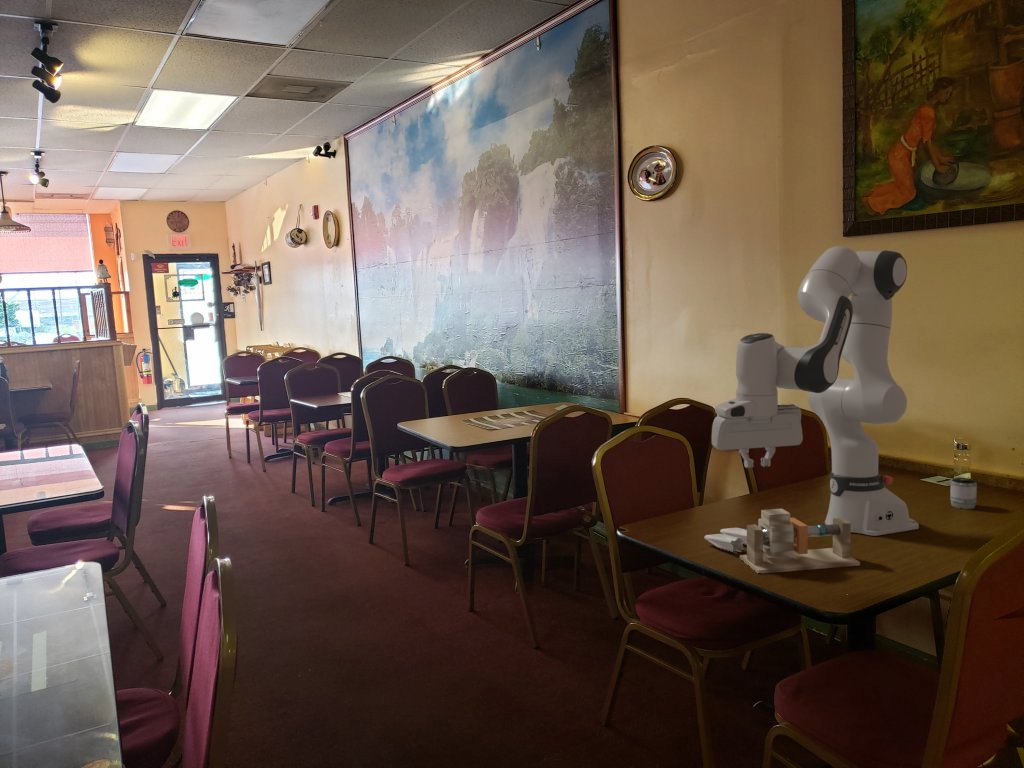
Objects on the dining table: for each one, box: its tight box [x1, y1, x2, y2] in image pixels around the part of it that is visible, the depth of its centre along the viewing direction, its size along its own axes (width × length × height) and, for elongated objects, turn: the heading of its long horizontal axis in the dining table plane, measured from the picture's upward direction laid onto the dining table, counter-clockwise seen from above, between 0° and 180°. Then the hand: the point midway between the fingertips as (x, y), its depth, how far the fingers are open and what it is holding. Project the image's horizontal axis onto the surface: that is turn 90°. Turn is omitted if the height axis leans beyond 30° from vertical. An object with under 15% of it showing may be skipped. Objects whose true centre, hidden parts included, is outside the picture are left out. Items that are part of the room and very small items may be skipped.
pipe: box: [763, 524, 841, 541], centre depth 166 cm, size 19×3×3 cm, turn 96°
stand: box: [739, 518, 861, 574], centre depth 167 cm, size 24×10×9 cm, turn 96°
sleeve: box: [757, 508, 794, 558], centre depth 166 cm, size 5×7×10 cm
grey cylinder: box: [949, 477, 978, 510], centre depth 204 cm, size 6×6×8 cm
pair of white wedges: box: [704, 527, 747, 555], centre depth 180 cm, size 12×4×11 cm
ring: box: [790, 517, 809, 554], centre depth 166 cm, size 2×6×6 cm, turn 6°
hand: (757, 466), depth 164 cm, fingers open, 3 cm apart
